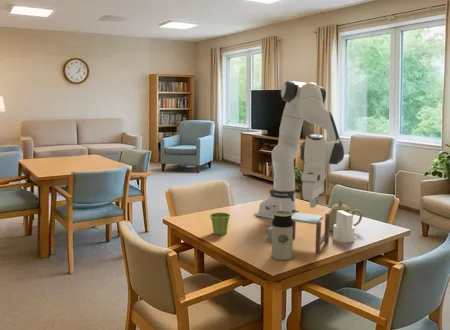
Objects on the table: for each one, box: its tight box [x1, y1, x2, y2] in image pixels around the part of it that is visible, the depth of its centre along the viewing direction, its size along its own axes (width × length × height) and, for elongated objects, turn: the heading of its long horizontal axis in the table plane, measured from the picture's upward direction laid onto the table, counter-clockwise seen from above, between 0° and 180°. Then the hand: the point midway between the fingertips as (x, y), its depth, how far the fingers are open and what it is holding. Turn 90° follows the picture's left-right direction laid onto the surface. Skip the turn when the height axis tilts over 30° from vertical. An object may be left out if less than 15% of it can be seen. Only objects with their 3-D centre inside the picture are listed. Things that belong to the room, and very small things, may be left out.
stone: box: [266, 225, 272, 241], centre depth 200 cm, size 5×5×5 cm
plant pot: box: [209, 212, 231, 236], centre depth 208 cm, size 9×9×9 cm
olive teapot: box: [328, 198, 363, 232], centre depth 214 cm, size 15×11×15 cm
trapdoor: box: [291, 212, 324, 226], centre depth 191 cm, size 15×11×2 cm
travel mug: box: [271, 210, 294, 261], centre depth 177 cm, size 8×8×18 cm
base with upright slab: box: [332, 210, 356, 243], centre depth 200 cm, size 9×9×12 cm
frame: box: [292, 209, 330, 255], centre depth 191 cm, size 16×16×13 cm
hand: (313, 206), depth 188 cm, fingers closed
